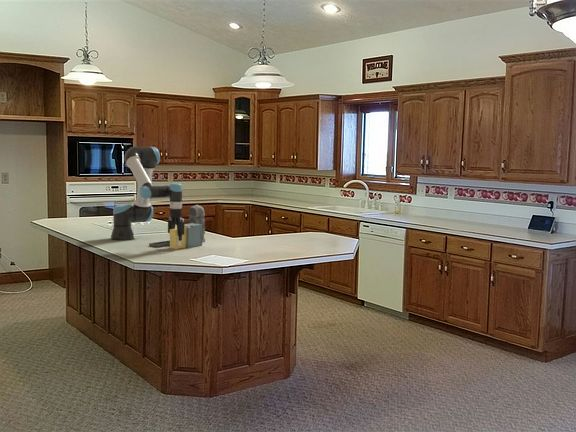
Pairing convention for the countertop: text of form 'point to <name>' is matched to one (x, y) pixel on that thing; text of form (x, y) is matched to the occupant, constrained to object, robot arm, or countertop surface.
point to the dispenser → (194, 234)
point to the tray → (160, 244)
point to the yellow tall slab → (174, 239)
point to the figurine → (197, 217)
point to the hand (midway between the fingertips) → (176, 245)
